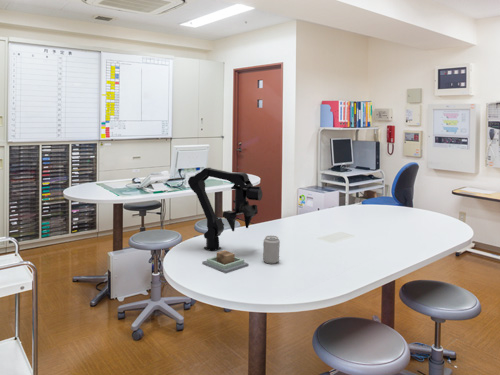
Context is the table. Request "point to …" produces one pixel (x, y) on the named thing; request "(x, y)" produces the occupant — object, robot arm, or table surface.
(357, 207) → the table surface
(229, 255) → the brown rectangular block
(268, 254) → the can
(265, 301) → the table surface
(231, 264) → the grey tray
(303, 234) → the table surface
